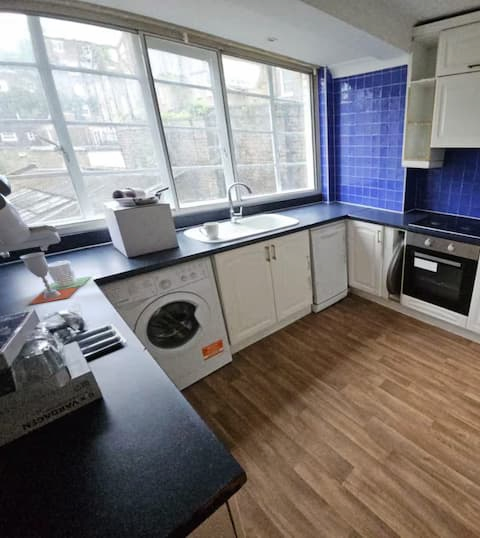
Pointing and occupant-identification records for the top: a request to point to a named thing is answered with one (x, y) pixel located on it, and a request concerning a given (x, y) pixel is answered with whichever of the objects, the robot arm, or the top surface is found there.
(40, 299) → the terracotta mat
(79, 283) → the sage mat
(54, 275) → the white cup
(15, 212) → the robot arm
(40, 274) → the chalice
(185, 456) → the top surface
